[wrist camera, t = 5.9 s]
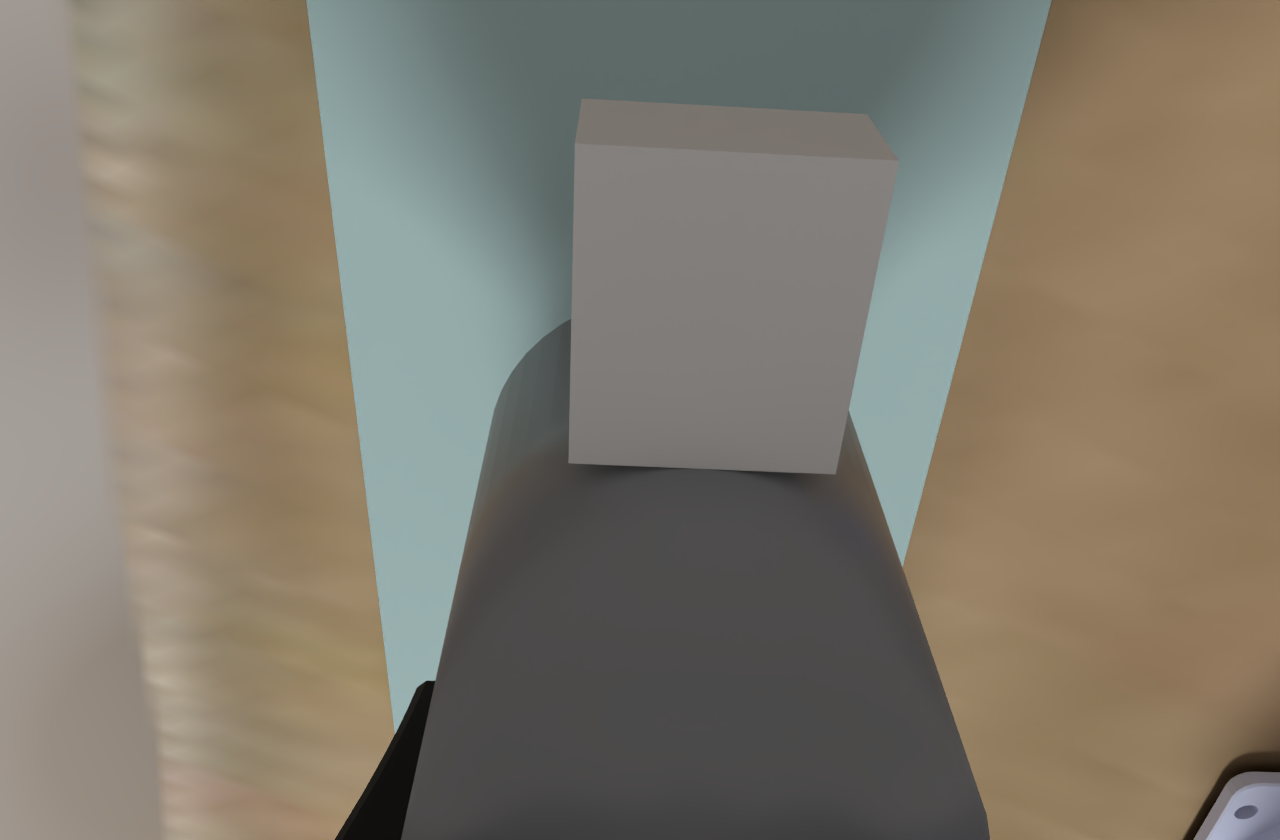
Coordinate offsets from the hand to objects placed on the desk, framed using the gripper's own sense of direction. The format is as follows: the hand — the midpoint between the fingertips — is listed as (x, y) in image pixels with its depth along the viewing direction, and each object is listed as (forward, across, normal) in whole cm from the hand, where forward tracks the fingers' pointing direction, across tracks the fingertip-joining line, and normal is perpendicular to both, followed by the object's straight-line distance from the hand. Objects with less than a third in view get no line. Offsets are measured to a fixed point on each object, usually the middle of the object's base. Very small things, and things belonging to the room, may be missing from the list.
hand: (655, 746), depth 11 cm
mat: (+7, 0, 0) cm, 7 cm away
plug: (+1, 0, -1) cm, 2 cm away
